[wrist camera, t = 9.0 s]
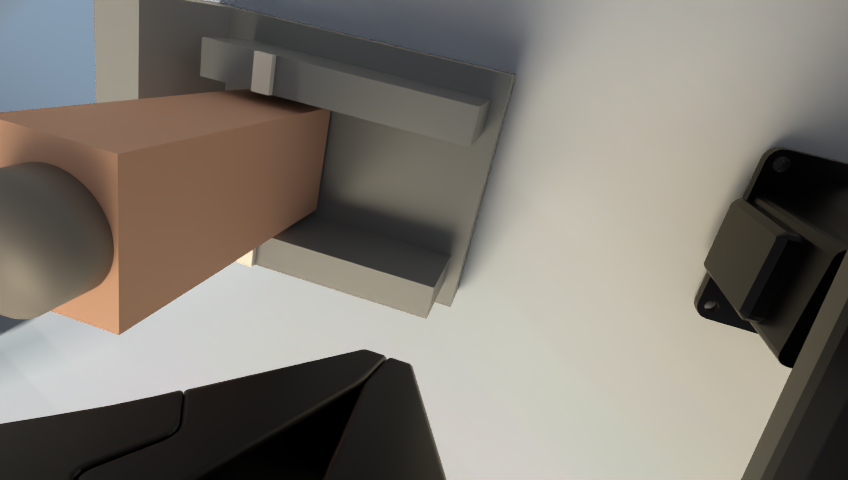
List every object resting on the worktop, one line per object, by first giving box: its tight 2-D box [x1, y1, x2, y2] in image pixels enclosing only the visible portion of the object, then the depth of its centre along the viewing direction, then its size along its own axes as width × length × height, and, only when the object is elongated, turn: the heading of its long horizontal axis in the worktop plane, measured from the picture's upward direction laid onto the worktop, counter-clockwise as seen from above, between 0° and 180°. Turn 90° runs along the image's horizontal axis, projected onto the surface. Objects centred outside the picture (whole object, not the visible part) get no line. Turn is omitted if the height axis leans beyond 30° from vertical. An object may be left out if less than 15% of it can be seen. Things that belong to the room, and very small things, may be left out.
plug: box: [0, 89, 331, 335], centre depth 15 cm, size 3×4×11 cm
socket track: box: [94, 0, 516, 318], centre depth 18 cm, size 12×9×6 cm
